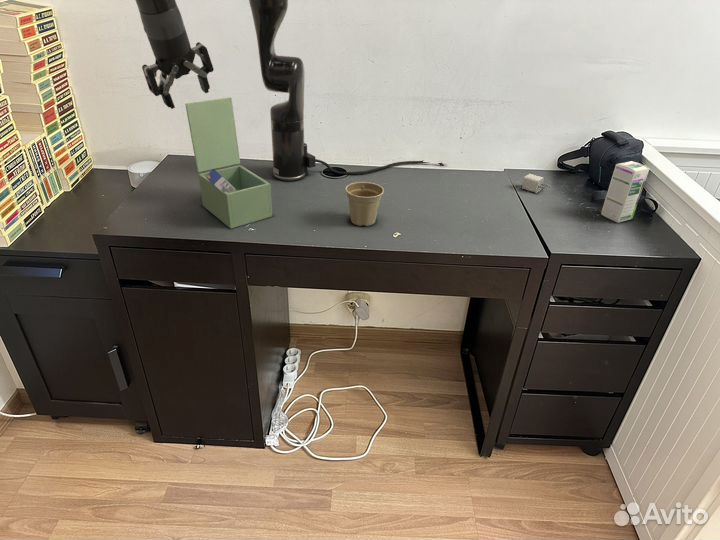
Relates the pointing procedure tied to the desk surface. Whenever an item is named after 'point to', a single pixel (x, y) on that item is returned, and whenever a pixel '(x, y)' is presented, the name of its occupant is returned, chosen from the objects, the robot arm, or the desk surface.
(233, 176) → the bin
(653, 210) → the desk surface
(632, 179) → the syrup box
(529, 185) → the usb wall charger
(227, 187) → the walkman
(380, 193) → the flower pot
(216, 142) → the lid
